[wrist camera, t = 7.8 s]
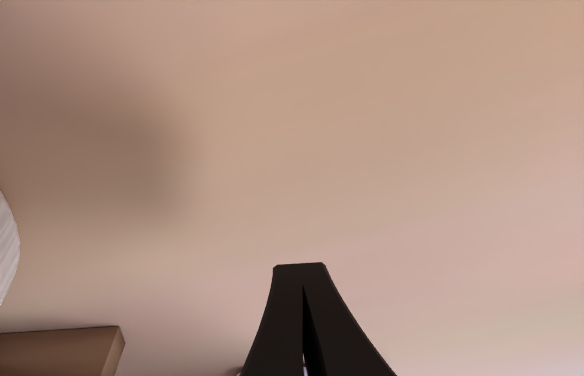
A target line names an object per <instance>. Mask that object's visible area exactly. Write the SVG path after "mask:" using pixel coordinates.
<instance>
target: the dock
mask: <svg viewBox="0 0 584 376" xmlns="http://www.w3.org/2000/svg"><path fill="white" fill-rule="evenodd" d="M124 345H125V341H124V338H123V336H122V333H121V330H120V328H119V326H116V327H100V328H85V329H69V330H54V331H38V332H23V333H7V334H0V376H114V374H115V371H116V368H117V366H118V363H119V360H120V357H121V354H122V351H123V348H124Z"/></svg>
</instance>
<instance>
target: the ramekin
mask: <svg viewBox="0 0 584 376" xmlns="http://www.w3.org/2000/svg"><path fill="white" fill-rule="evenodd" d="M19 246H20V238H19V235H18V230H17V224H16V222H15V220H14V217H13V214H12V211H11V209H10V207H9V205H8V203H7V201H6V199H5V197H4V195H3V194H2V192H1V191H0V306H1V304H2V302H3V299H4V297H5V295H6V293H7V291H8V289H9V287H10V285H11V282H12V280H13V277H14V275H15V273H16V270H17V266H18V262H19V258H20V250H19Z"/></svg>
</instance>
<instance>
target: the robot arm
mask: <svg viewBox="0 0 584 376" xmlns="http://www.w3.org/2000/svg"><path fill="white" fill-rule="evenodd" d="M303 355H304V360H305V366H306V367H303ZM236 376H397V375H396V374H395V373H394V372H393V370H392V369H391V368H390V367H389V365H388V364H387V363H386V362H385V360H384V359H383V358H382V356H381V355H380V354H379V352H378V351H377V350H376V348H375V347H374V346H373V344H372V343H371V342H370V340H369V339H368V338H367V336H366V335H365V333H364V332H363V330H362V329H361V327H360V326H359V324H358V323H357V321H356V320H355V318H354V317H353V315H352V314H351V312H350V311H349V309H348V307H347V306H346V304H345V302H344V301H343V299H342V297H341V296H340V294H339V292H338V290H337V289H336V287H335V285H334V283H333V281H332V279H331V277H330V275H329V273H328V270H327V268H326V266H325V265H324V264H323V263H322V262H317V263H300V264H283V265H276V266H275V267H274V268H273V277H272V283H271V288H270V293H269V296H268V300H267V304H266V307H265V311H264V314H263V317H262V320H261V323H260V326H259V329H258V332H257V334H256V337H255V339H254V342H253V344H252V347H251V349H250V352H249V354H248V357H247V359H246V362H245V364H244V366H243V368H242V371H241V372H240V373H238V374H237V375H236Z"/></svg>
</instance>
